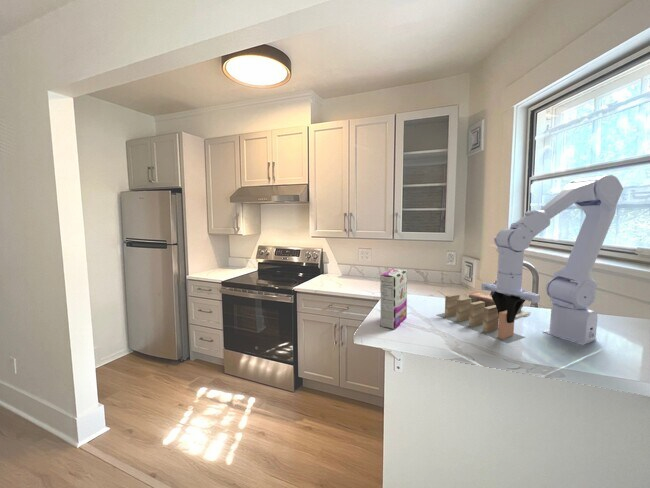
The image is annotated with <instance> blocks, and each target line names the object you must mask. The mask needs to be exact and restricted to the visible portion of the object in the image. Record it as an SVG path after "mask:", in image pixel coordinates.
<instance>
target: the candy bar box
mask: <svg viewBox="0 0 650 488" xmlns="http://www.w3.org/2000/svg"><path fill="white" fill-rule="evenodd" d="M379 277H380V327H381V328H386V329H390V330H396V329H397V328H398V327H399V326H400V325H401V324H402V323H403V322H404V321H405V320H406V319H407V309H408V305H407V304H408V303H407V299H408V283H407V282H408V270H407V269H401V268H392V269H391V270H389V271H386V272H384V273H382V274H380V276H379Z"/></svg>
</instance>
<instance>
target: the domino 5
mask: <svg viewBox="0 0 650 488" xmlns="http://www.w3.org/2000/svg"><path fill="white" fill-rule="evenodd" d="M514 330H515V321H514V322H512V323H507V310H506V311H502V312H499V322H498V337H499V338H502V339H504V338H507V337H510V336H512V335H513V334H514V333H515V332H514Z"/></svg>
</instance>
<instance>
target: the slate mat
mask: <svg viewBox="0 0 650 488" xmlns="http://www.w3.org/2000/svg"><path fill="white" fill-rule="evenodd" d="M436 316H438V317H439V318H443V319H445V320H448V321H451V322H453V323H456V324H457V325H459V326H462V327H464V328H465V327H466V328H467V329H471V330H473V331H475V332H478V333H480V334H484V335H486V336H488V337H491V338H493V339H496V340H498V341H501V342H503V343H506V344H510V343H513V342H516V341H518V340H521V339H525V338H526V336H523V335H521V334H518V333H515V332H514V334H513V335H512V336H510V337H507V338H504V339H502V338H499V337H498V330H495V331H491V332H488V333H487V332H484V331H483V325H479V326H476V327H471V326H469V320H467V321H463V322H458V321H456V316H453V317H449V318H448V317H445V312H441V313H439V314H436Z"/></svg>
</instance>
